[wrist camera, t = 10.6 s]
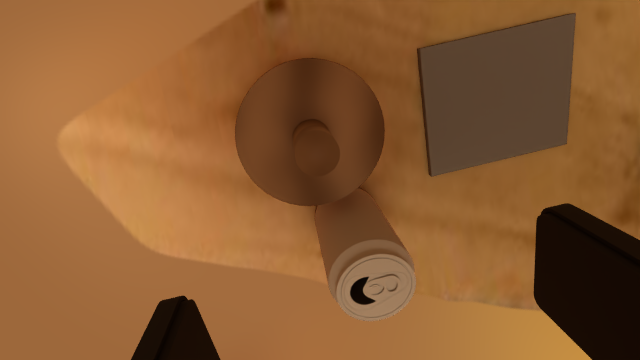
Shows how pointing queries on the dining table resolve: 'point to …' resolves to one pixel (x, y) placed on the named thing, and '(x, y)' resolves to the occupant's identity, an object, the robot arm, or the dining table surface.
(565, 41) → the mat
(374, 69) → the dining table surface
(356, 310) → the beverage can
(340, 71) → the lid
